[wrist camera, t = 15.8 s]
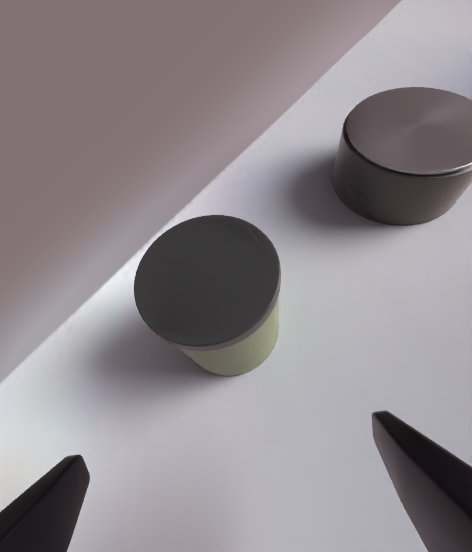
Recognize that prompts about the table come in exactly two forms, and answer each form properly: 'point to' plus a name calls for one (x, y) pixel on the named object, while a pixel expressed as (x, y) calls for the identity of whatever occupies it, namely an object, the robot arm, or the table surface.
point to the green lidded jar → (212, 292)
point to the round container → (405, 155)
